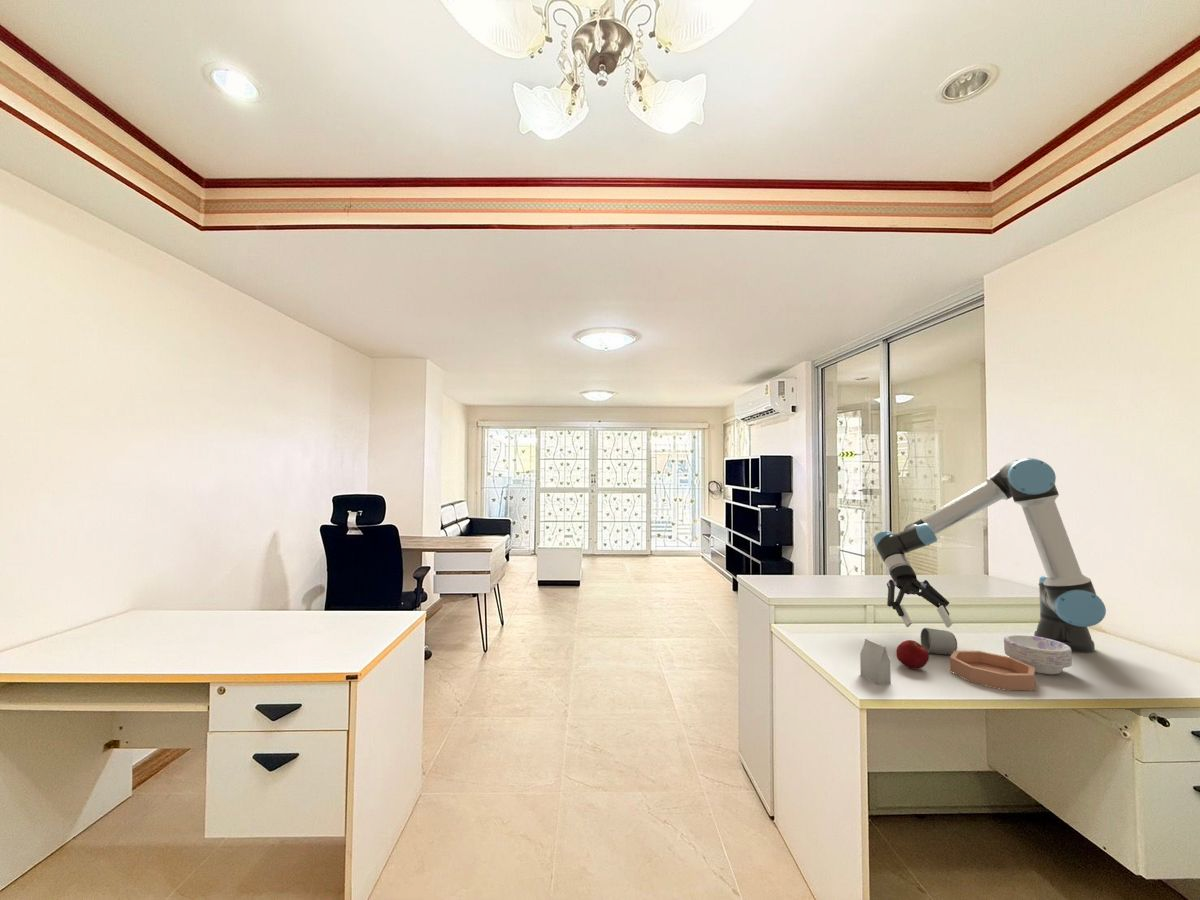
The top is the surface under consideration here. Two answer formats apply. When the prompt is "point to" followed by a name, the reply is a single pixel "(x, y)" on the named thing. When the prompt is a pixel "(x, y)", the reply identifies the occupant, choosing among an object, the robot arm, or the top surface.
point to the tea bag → (875, 663)
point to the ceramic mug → (938, 641)
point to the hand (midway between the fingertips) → (929, 625)
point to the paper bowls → (1039, 653)
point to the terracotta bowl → (993, 670)
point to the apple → (912, 654)
